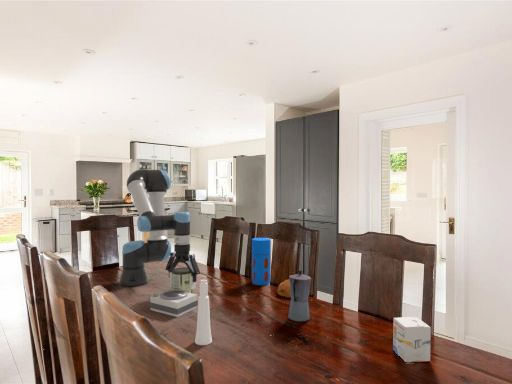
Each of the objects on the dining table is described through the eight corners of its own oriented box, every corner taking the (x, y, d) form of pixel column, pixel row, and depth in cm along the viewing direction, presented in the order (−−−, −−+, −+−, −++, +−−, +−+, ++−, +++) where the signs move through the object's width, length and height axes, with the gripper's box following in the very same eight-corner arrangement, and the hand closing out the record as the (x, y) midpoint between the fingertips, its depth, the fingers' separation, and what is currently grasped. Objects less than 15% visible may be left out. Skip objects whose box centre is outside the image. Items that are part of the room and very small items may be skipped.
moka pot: (313, 313, 150) (314, 268, 149) (306, 327, 135) (307, 276, 135) (292, 311, 153) (292, 266, 152) (283, 324, 138) (283, 274, 138)
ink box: (392, 351, 116) (392, 316, 116) (416, 350, 117) (416, 315, 117) (405, 364, 108) (405, 327, 108) (431, 363, 108) (431, 326, 108)
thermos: (271, 280, 203) (271, 237, 202) (270, 285, 192) (270, 240, 191) (252, 279, 204) (252, 237, 203) (250, 284, 193) (250, 240, 192)
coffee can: (180, 293, 176) (180, 266, 176) (196, 296, 172) (197, 268, 172) (167, 299, 167) (167, 270, 167) (184, 302, 163) (184, 273, 163)
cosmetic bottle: (202, 336, 127) (202, 277, 126) (215, 340, 124) (215, 279, 123) (191, 343, 121) (191, 280, 121) (204, 347, 118) (205, 283, 118)
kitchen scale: (150, 309, 153) (150, 294, 153) (171, 301, 165) (171, 287, 165) (177, 317, 145) (177, 300, 145) (197, 307, 157) (197, 292, 156)
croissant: (288, 292, 188) (287, 277, 188) (312, 294, 177) (310, 278, 177) (270, 297, 178) (269, 281, 178) (293, 300, 166) (292, 283, 167)
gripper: (158, 242, 172) (158, 285, 172) (197, 246, 160) (197, 292, 160) (169, 240, 179) (169, 281, 179) (207, 244, 166) (207, 288, 166)
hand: (182, 286), depth 169 cm, fingers open, 13 cm apart
